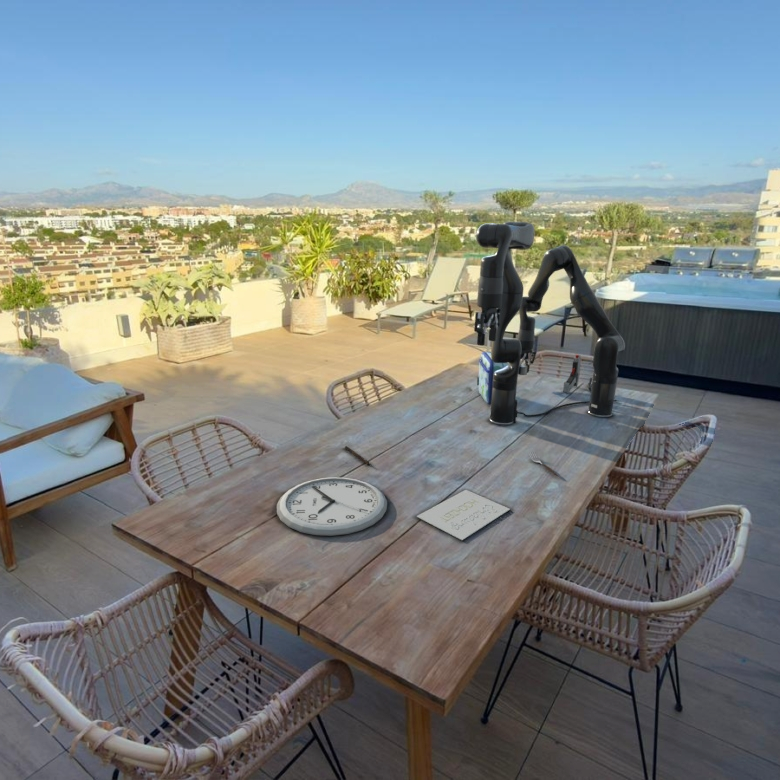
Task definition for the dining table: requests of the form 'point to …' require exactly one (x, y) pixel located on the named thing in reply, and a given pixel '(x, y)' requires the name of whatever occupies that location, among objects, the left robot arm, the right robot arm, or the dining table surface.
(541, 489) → the dining table surface
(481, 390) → the lunch box
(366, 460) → the dark brown stick
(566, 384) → the toy gun
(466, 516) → the invitation card
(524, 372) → the tin
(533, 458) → the fork
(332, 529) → the wall clock
